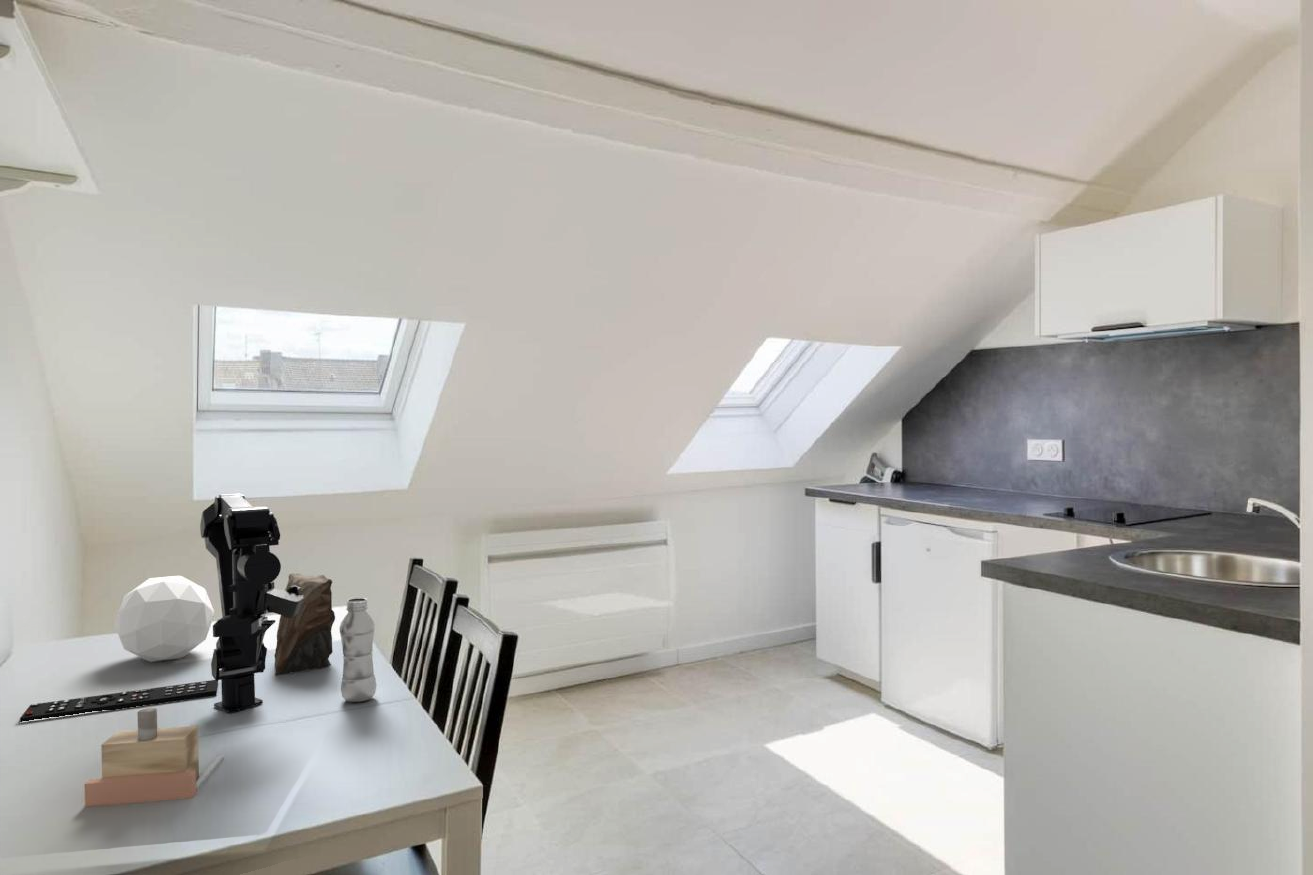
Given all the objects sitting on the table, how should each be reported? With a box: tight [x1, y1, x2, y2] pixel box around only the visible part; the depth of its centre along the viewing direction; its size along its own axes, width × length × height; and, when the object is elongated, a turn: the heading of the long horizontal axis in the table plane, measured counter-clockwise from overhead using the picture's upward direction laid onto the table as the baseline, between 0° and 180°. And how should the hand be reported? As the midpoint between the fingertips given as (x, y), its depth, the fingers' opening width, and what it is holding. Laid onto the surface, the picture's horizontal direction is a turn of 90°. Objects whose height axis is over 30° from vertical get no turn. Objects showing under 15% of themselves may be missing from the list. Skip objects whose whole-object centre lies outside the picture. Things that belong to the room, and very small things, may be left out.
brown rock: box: [274, 573, 336, 677], centre depth 180 cm, size 13×13×20 cm
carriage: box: [100, 707, 200, 781], centre depth 118 cm, size 5×11×12 cm, turn 100°
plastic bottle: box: [339, 597, 377, 703], centre depth 157 cm, size 6×7×20 cm
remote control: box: [19, 679, 219, 723], centre depth 157 cm, size 8×32×2 cm, turn 116°
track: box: [84, 755, 225, 807], centre depth 120 cm, size 13×14×4 cm
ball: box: [113, 575, 215, 663], centre depth 185 cm, size 19×20×20 cm
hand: (253, 664), depth 143 cm, fingers closed
